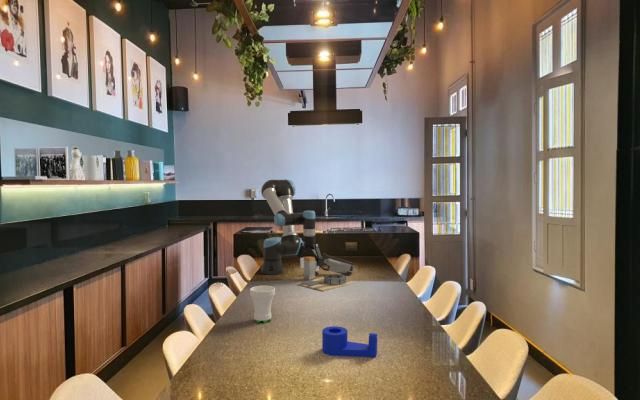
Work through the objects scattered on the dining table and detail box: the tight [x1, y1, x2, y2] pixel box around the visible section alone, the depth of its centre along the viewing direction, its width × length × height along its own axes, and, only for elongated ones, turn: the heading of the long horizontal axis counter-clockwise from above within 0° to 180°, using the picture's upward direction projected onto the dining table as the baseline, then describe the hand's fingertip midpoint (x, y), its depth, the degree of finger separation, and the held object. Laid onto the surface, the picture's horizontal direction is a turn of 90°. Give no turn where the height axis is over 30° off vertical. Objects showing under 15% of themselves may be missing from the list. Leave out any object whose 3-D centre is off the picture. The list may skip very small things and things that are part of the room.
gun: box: [315, 252, 355, 277], centre depth 280 cm, size 5×27×15 cm, turn 89°
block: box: [303, 256, 316, 281], centre depth 266 cm, size 5×5×14 cm
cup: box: [249, 285, 276, 324], centre depth 188 cm, size 11×11×14 cm
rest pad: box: [300, 280, 322, 286], centre depth 254 cm, size 9×9×1 cm
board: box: [296, 276, 355, 292], centre depth 255 cm, size 22×26×1 cm
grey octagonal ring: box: [323, 273, 347, 285], centre depth 256 cm, size 13×13×4 cm
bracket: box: [321, 325, 378, 358], centre depth 154 cm, size 20×9×8 cm, turn 76°
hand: (309, 269), depth 266 cm, fingers open, 13 cm apart
